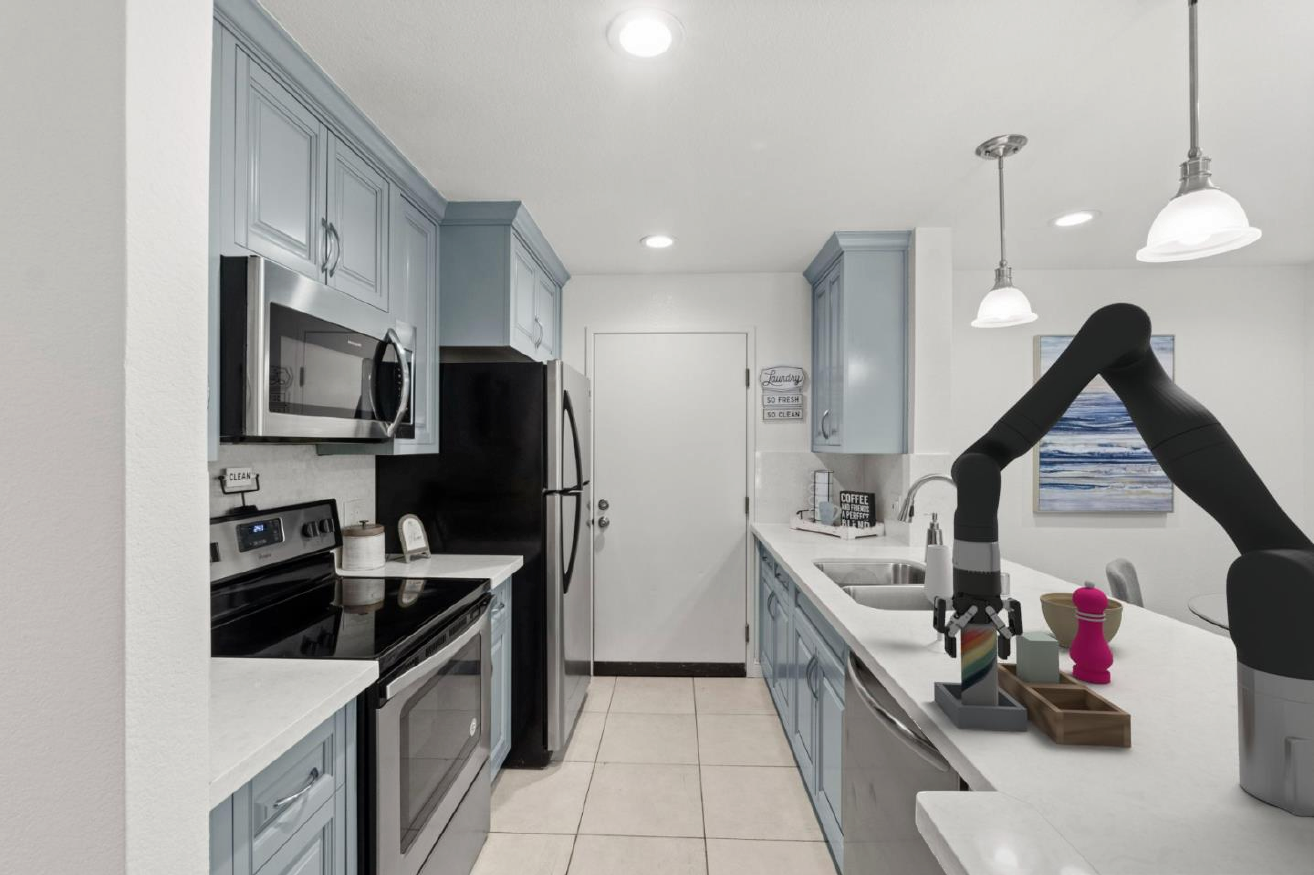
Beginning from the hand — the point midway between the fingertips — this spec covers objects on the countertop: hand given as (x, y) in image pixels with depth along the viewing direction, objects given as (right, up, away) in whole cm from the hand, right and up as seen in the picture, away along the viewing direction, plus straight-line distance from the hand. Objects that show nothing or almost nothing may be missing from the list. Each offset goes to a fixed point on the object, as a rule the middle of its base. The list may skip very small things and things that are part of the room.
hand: (977, 657), depth 105 cm
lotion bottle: (0, -9, 0) cm, 9 cm away
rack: (+14, -10, 0) cm, 17 cm away
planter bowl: (+44, -11, +37) cm, 59 cm away
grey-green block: (+14, -10, +5) cm, 18 cm away
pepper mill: (+32, -11, +17) cm, 38 cm away
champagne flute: (+10, -11, +35) cm, 38 cm away
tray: (0, -10, 0) cm, 10 cm away
